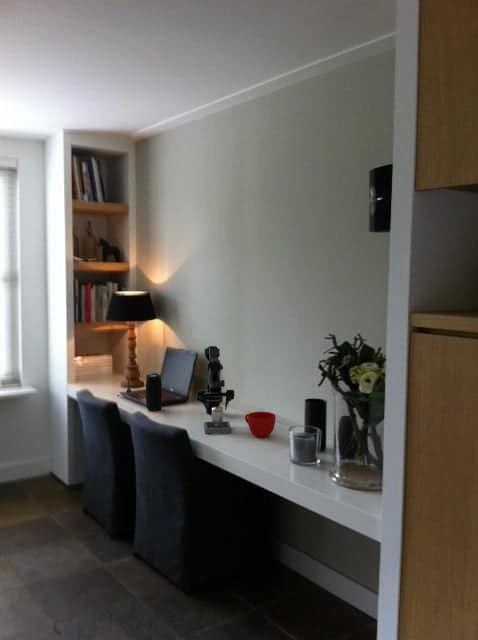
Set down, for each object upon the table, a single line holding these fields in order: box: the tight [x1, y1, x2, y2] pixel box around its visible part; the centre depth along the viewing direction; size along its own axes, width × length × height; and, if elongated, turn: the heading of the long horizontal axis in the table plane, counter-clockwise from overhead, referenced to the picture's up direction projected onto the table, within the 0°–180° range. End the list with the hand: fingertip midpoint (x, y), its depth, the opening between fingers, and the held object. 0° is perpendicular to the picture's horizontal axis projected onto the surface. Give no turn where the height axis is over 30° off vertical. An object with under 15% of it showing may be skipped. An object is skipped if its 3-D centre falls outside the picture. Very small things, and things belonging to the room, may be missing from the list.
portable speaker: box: [145, 372, 163, 412], centre depth 337 cm, size 9×9×20 cm
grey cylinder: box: [211, 406, 224, 428], centre depth 297 cm, size 7×7×11 cm
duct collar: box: [203, 420, 232, 435], centre depth 297 cm, size 12×12×2 cm
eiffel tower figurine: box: [116, 375, 133, 400], centre depth 369 cm, size 15×10×13 cm
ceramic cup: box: [244, 411, 276, 439], centre depth 289 cm, size 13×17×10 cm
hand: (216, 409), depth 303 cm, fingers open, 9 cm apart
